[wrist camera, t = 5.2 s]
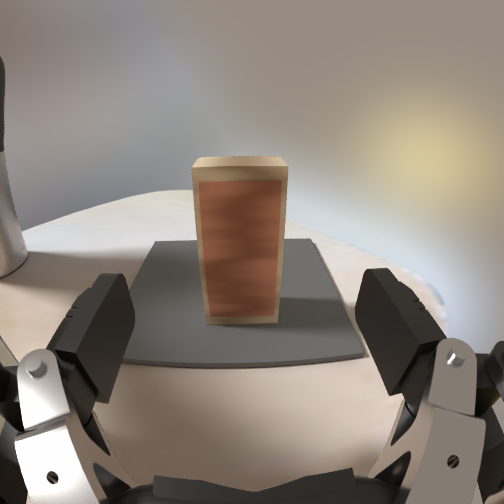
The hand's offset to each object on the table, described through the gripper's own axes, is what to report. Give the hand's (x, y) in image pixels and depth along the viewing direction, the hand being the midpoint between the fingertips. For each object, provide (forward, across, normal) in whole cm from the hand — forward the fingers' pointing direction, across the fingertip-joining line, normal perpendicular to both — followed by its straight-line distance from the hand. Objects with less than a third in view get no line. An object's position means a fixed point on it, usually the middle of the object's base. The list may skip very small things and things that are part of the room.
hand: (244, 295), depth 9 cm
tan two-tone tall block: (+12, 0, +11) cm, 16 cm away
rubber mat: (+16, +1, +11) cm, 20 cm away
